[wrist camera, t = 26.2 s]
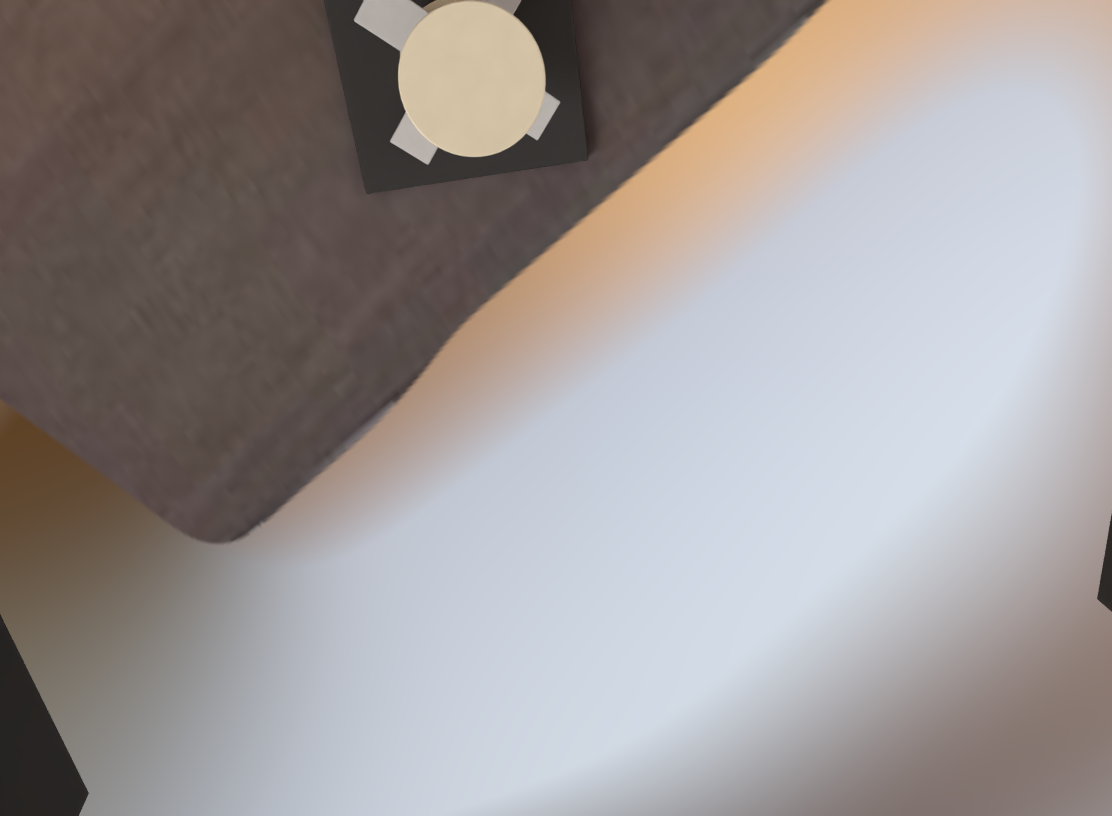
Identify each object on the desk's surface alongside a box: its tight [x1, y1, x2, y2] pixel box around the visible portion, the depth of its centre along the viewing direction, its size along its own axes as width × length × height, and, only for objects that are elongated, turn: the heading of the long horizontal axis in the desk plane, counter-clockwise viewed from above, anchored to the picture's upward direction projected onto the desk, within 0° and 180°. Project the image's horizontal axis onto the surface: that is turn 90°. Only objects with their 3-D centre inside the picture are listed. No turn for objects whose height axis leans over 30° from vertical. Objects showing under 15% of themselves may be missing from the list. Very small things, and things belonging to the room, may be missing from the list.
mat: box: [324, 0, 588, 194], centre depth 37 cm, size 10×10×1 cm
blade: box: [354, 0, 560, 165], centre depth 30 cm, size 8×8×14 cm
